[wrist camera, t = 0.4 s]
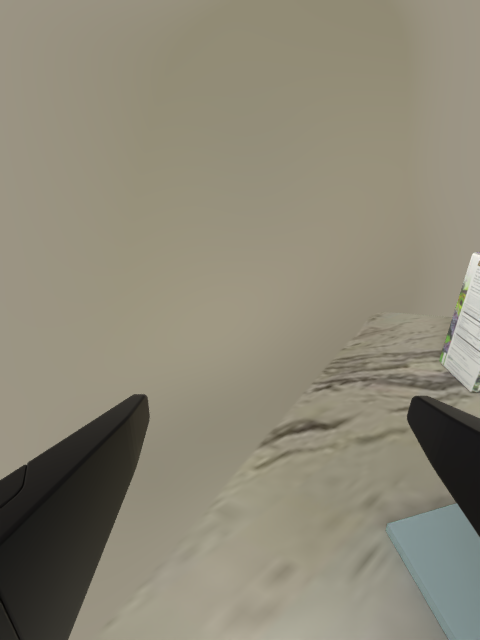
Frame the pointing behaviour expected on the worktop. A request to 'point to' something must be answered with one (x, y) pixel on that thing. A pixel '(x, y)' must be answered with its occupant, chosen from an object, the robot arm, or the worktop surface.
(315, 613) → the worktop surface
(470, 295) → the syrup box
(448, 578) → the plate
